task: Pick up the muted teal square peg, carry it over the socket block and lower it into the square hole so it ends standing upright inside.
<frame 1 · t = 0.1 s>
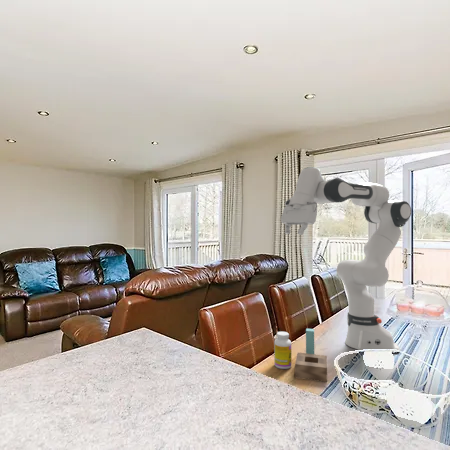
hand: (293, 234, 132), 52 cm above the table, tool tilted 20°, fingers open, 8 cm apart
teal peg: (310, 358, 131), on the table
socket block: (311, 373, 118), on the table
supplement bottle: (282, 366, 124), on the table
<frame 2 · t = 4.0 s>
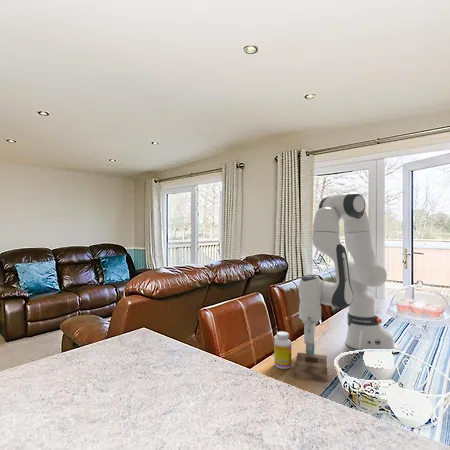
hand: (310, 347, 131), 5 cm above the table, tool pointing down, fingers closed on teal peg, 3 cm apart
teal peg: (310, 358, 131), on the table, touching gripper
everything else where it was.
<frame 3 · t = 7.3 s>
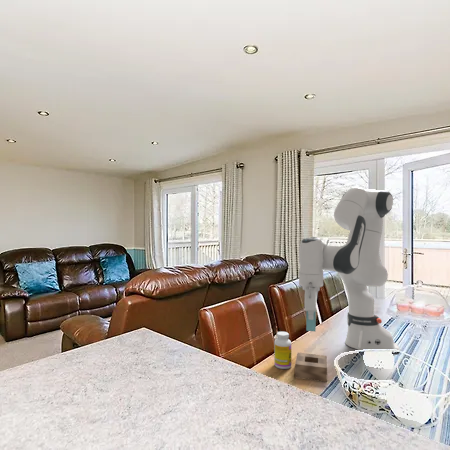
hand: (311, 317, 118), 21 cm above the table, tool pointing down, fingers closed on teal peg, 3 cm apart
teal peg: (311, 329, 118), point 16 cm above the table, touching gripper
everything else where it was.
when the fingers open (7 cm above the table, at t = 10.7 s): teal peg drops 2 cm, resting in socket block.
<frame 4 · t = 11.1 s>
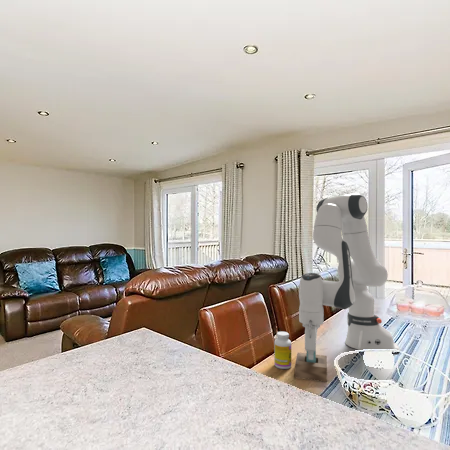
hand: (311, 354, 118), 7 cm above the table, tool pointing down, fingers open, 8 cm apart
teal peg: (311, 373, 118), resting in socket block
everything else where it was.
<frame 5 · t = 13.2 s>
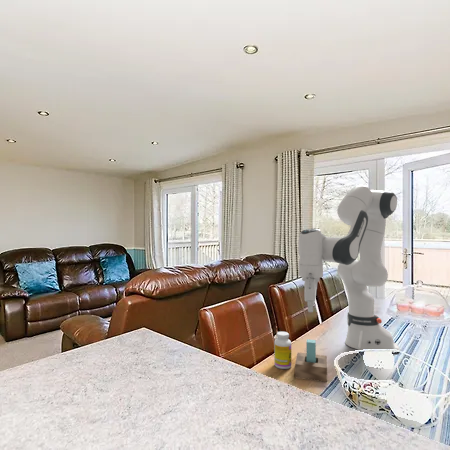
hand: (311, 308, 119), 24 cm above the table, tool pointing down, fingers open, 8 cm apart
nothing on the table moved.
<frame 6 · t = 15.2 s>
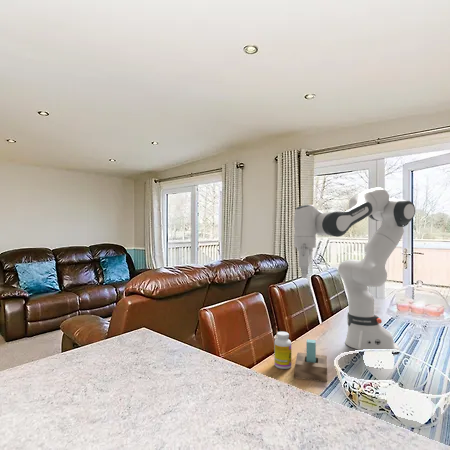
hand: (305, 276, 133), 34 cm above the table, tool pointing down, fingers open, 8 cm apart
nothing on the table moved.
at the end: teal peg 0.1 cm off-centre on the socket block, point 0.0 cm above the socket block's base; teal peg tilted 0°; the gripper is holding nothing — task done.
